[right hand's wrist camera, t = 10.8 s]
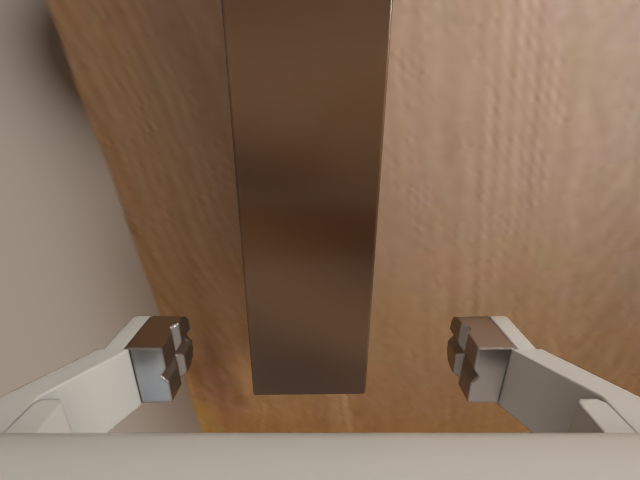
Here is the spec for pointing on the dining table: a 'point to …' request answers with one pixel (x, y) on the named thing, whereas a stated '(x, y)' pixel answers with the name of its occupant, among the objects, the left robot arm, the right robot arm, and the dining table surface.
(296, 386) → the beam
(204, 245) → the dining table surface
